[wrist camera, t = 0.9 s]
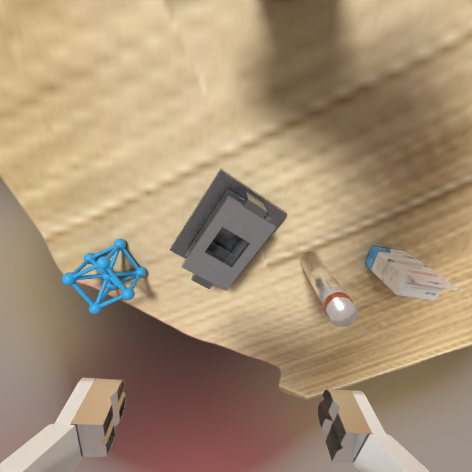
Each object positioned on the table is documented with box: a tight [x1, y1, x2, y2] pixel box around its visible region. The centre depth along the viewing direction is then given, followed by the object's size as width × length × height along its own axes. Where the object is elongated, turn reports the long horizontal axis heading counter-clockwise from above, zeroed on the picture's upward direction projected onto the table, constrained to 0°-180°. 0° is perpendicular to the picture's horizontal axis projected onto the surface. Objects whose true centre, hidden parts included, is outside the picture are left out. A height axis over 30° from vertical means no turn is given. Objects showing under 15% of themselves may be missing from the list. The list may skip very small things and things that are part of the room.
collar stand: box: [170, 169, 287, 291], centre depth 49 cm, size 20×16×8 cm
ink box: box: [365, 246, 459, 300], centre depth 50 cm, size 9×5×15 cm, turn 79°
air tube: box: [300, 252, 358, 326], centre depth 48 cm, size 5×5×18 cm
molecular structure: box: [62, 239, 146, 314], centre depth 51 cm, size 10×10×10 cm
